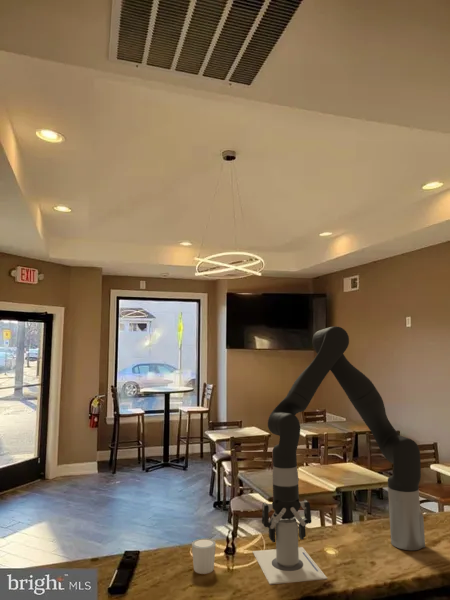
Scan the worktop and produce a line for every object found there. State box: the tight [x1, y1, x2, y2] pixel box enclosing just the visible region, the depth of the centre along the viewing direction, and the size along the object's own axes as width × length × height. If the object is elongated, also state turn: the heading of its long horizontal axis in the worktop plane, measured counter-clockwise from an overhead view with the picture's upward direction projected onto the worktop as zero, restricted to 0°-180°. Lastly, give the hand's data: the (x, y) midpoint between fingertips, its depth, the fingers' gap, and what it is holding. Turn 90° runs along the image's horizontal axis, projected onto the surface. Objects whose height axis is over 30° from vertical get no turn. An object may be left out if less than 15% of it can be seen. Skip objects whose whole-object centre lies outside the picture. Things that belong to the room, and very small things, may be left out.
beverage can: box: [275, 517, 299, 567], centre depth 129 cm, size 6×6×12 cm
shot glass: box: [191, 538, 217, 575], centre depth 127 cm, size 7×7×7 cm
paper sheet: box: [252, 546, 328, 585], centre depth 129 cm, size 16×20×1 cm
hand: (287, 539), depth 129 cm, fingers open, 8 cm apart
